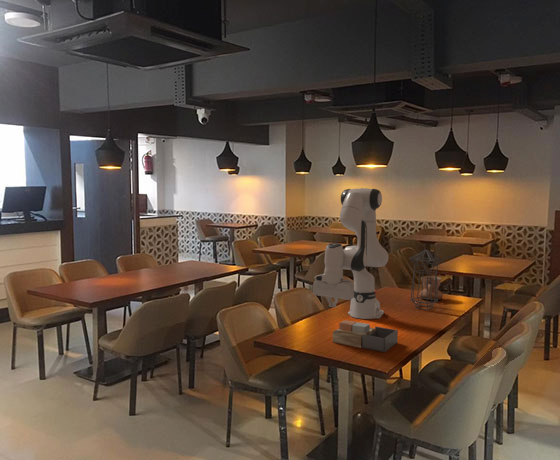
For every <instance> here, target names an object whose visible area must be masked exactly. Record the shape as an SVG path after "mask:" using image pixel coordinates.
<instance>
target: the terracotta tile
mask: <svg viewBox="0 0 560 460" xmlns="http://www.w3.org/2000/svg"><path fill="white" fill-rule="evenodd" d="M356 323H357V321H353V320H352V321H351V320H345V319H344V320H342V321H341V322H339V323H338V324H339V327H338V329H341V330H346V331H352V325H354V324H356Z"/></svg>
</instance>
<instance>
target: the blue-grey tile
mask: <svg viewBox="0 0 560 460" xmlns="http://www.w3.org/2000/svg"><path fill="white" fill-rule="evenodd" d="M356 322H357V321H356ZM370 328H371V325H370V323H364V322H357V323H356V324H354V325H352V332H357V333H363V334H365V333H367V332H368V331H370Z"/></svg>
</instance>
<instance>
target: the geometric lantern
mask: <svg viewBox="0 0 560 460" xmlns="http://www.w3.org/2000/svg"><path fill="white" fill-rule="evenodd" d="M425 255H427V258H426V257H425ZM409 260H410V262H412V263H413V274H412V275H413V276H412V284H411V292H410V301H411V302H412V303H413V304H415V305H414V306H415V309H418V310H424V311H430V310H432V309H433V308H434V305H435V304H436V303H438V302H439V300H438V290H439V288H438V287H437V300H436V286H437V277H438V271H439V270H438V268H439V264H440V262H441V261H442V260H443V258H441V257H440V256H438V255H437V254H435V253H433V252H431V251H430V250H428V249H424V250H422V251H421V252H418V253H417V254H415V255H413V256H411V257H409ZM419 262H421V264H419ZM424 262H425V263H424ZM431 262H432V263H431ZM428 265H432V267H431V269H430V270H427V267H428ZM421 266H422V267H423V269H420V267H421ZM434 267H436V270H435V268H434ZM417 268H418V270H416V269H417ZM422 272H424V273H422ZM415 273H418V286H417V296H416V297H414V294H415V275H416V274H415ZM424 274H426V276H427V298H422V292H421V291H422V290H424V286H423V277H424ZM432 274H435V276H434V277H435V299H432V291H431V299H430V300H431V301H430V300H428V299H429V298H428V276H430V289H431V276H432ZM421 275H422V276H421ZM421 278H422V279H421ZM420 279H421V291H420ZM420 292H421V297H420V296H419V293H420ZM416 299H417V300H416ZM425 299H427V300H426V301H423V300H425ZM432 300H435V301H432ZM429 301H430V302H429ZM416 302H417V303H416ZM424 304H426V305H424ZM421 307H426V308H421Z"/></svg>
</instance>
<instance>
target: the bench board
mask: <svg viewBox="0 0 560 460" xmlns="http://www.w3.org/2000/svg"><path fill="white" fill-rule="evenodd" d="M374 331H375V327H370V331H368V332H367V333H365V334H363V333H357V332H352V331H346V330H341V329H339V328H337V329H335V330H333V331H332V343H335V344H340V345H345V346H350V347H355V348H361V349H362V334H363V335H369V334H371V333H372V332H374Z"/></svg>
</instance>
